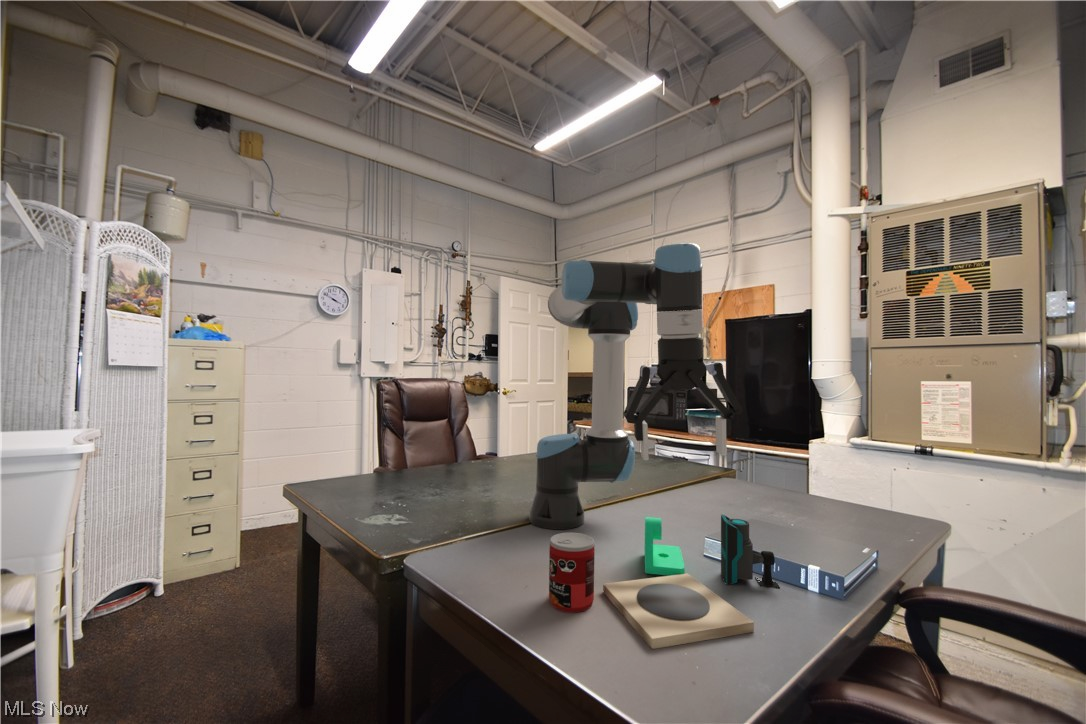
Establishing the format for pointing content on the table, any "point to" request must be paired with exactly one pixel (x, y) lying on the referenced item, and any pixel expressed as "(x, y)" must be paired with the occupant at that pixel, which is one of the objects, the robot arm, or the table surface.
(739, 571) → the surveillance camera
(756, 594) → the table surface
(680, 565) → the camera mount
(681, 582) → the wooden square board
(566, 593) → the canned food
